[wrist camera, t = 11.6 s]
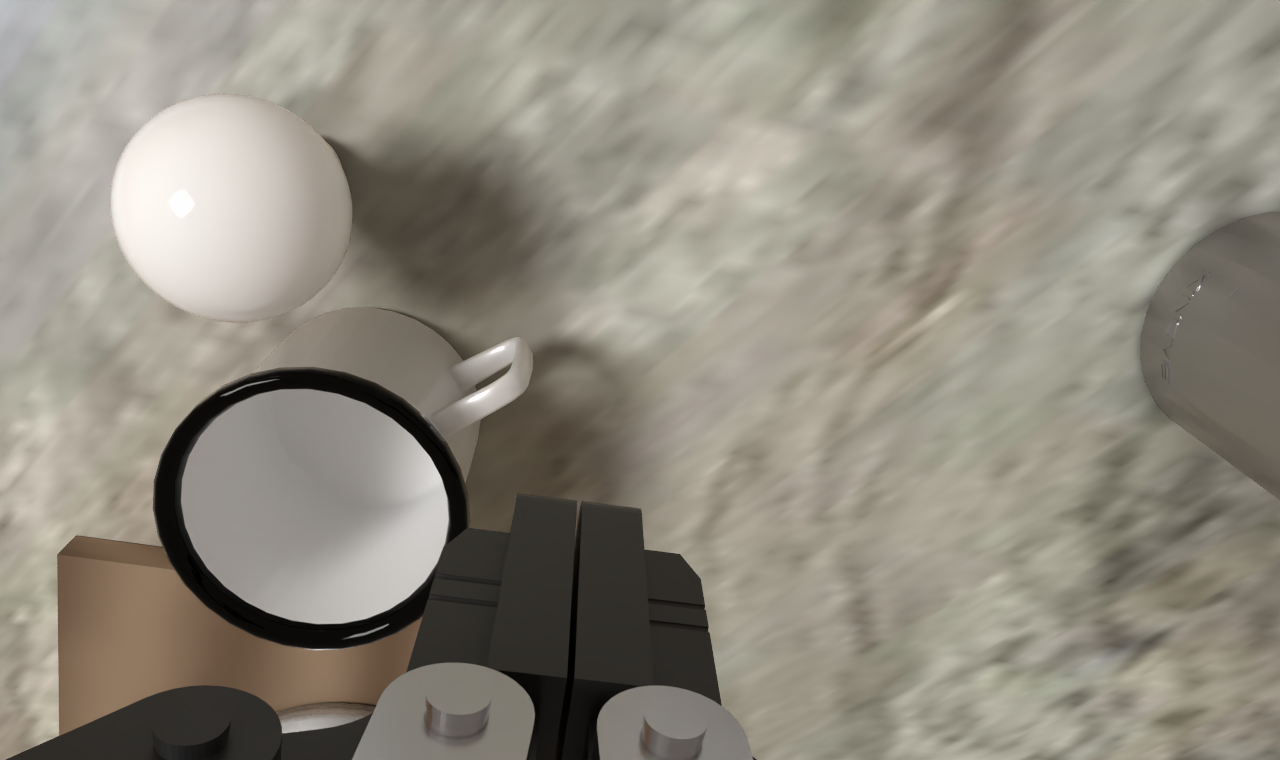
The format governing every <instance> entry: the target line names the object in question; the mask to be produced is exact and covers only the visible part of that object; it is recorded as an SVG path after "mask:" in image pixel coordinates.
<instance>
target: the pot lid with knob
mask: <svg viewBox="0 0 1280 760" xmlns="http://www.w3.org/2000/svg"><path fill="white" fill-rule="evenodd" d="M374 710H375V707H373V706H368V705H361V704H349V703H318V704H311V705H304V706H296V707H292V708H288V709H285V710H281V711H277V712H276V714H277V715H278V717H279V719H280V722H281V726H282V733H290V732H299V731H307V730H316V729H323V728H329V727H335V726H339V725H343V724H347V723H350V722H353V721H356V720H358V719H361V718H364V717H366V716H368V715H369V714H371V713H373V712H374Z"/></svg>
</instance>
